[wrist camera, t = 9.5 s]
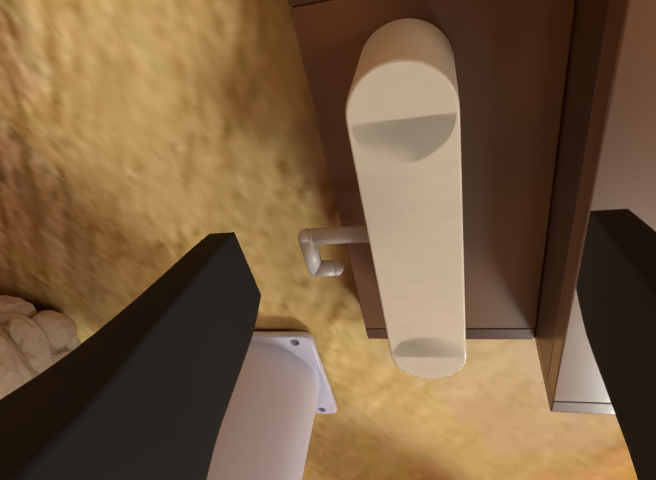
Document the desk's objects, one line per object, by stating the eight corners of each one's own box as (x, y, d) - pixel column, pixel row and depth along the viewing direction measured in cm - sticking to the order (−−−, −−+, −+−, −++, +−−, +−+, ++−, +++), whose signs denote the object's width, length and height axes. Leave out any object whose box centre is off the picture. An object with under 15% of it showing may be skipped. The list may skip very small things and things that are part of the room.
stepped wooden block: (370, 315, 24) (360, 404, 20) (293, -35, 14) (243, 13, 10) (703, 312, 20) (765, 421, 16) (925, -168, 10) (1212, -169, 6)
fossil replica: (3, 360, 34) (137, 376, 34) (-74, 482, 28) (88, 501, 28) (-92, 252, 25) (89, 273, 25) (-230, 397, 20) (4, 424, 20)
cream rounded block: (337, 317, 22) (326, 376, 20) (257, 42, 14) (223, 84, 12) (462, 316, 20) (466, 380, 18) (452, 9, 13) (458, 50, 10)
